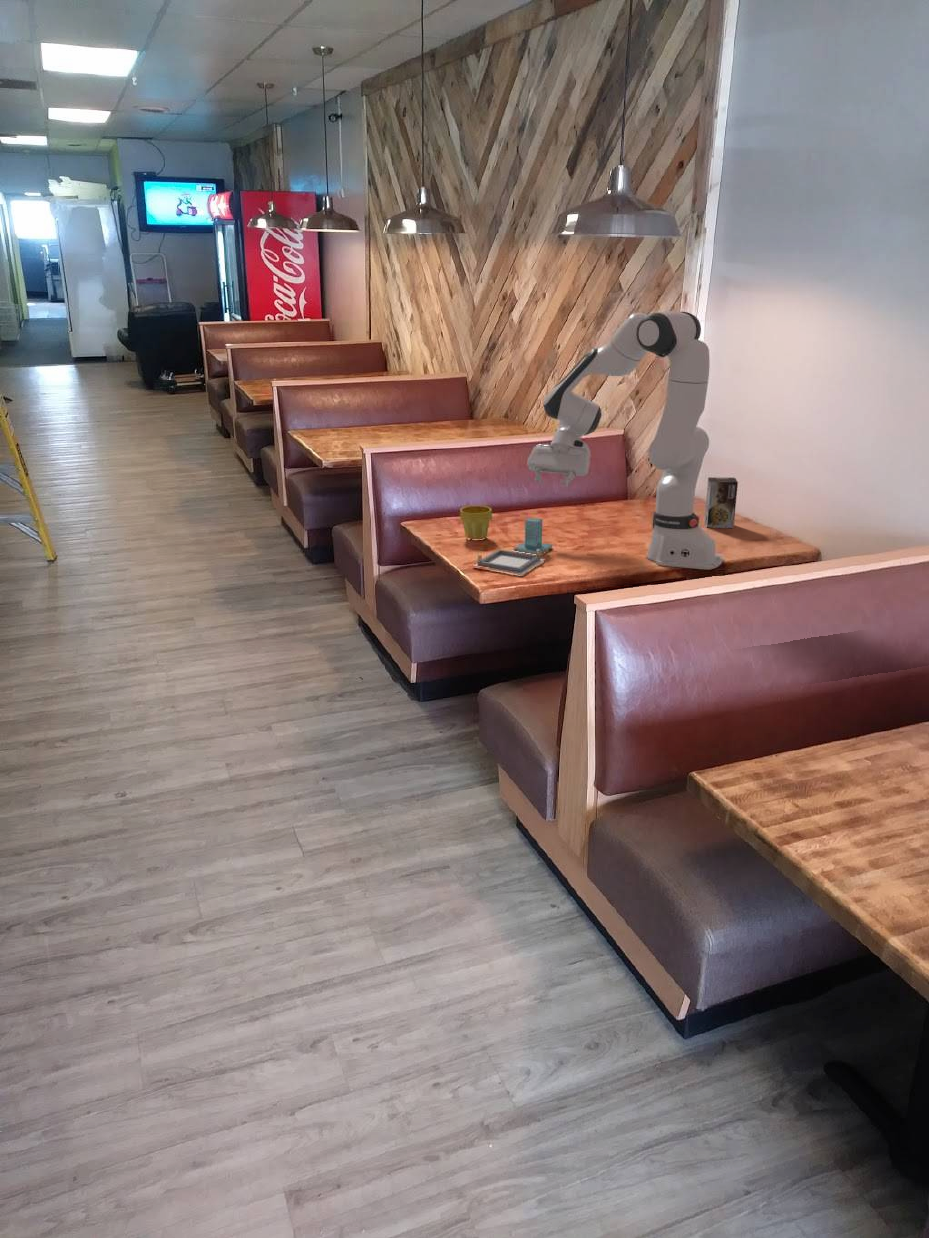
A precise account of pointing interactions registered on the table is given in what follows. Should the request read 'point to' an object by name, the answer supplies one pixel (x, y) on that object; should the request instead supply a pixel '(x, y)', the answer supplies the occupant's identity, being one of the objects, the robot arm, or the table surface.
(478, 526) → the plant pot
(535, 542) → the teal plate with post
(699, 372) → the robot arm
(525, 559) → the base
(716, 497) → the coffee box
